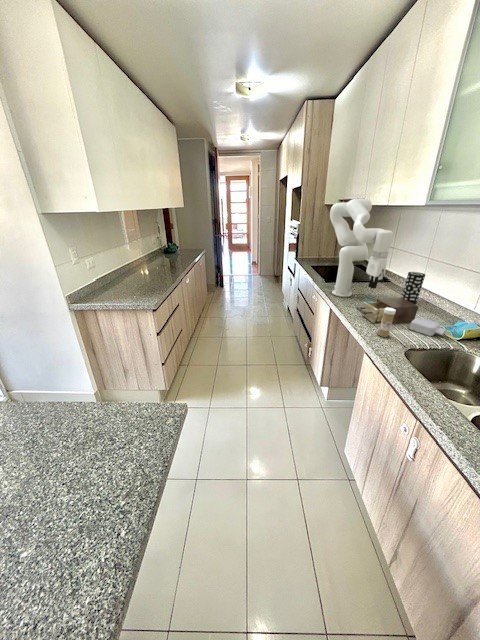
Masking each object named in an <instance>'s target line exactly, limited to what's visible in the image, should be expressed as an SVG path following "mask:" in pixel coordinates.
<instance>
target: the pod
mask: <svg viewBox="0 0 480 640" xmlns="http://www.w3.org/2000/svg"><path fill="white" fill-rule="evenodd" d="M363 302H367V303H368V302H375V301H373V300H372V299H370V298H369V299H363Z"/></svg>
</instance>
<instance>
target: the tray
mask: <svg viewBox="0 0 480 640" xmlns="http://www.w3.org/2000/svg"><path fill="white" fill-rule="evenodd" d="M387 307H388V306H386V305H384V304H383V303H381V302H377V301H374V302H368V303H367V302H364V301H362V305H361V307H359V306H357V307H356V310H357V311H359V312H360V313H359V314H360V315H361V316H363V317H364V318H365V319H367V320H368V321H370V322H371V323H372V324H375V323H376V322H381V321H382V318H383V314H384V309H385V308H387ZM388 308H390V307H388Z"/></svg>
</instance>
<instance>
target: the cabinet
mask: <svg viewBox="0 0 480 640" xmlns="http://www.w3.org/2000/svg"><path fill="white" fill-rule="evenodd" d="M376 302H381V303H383V304H384V305H386V306H388V307H390V308H393V309H395V310H396V312H395V314H394V318H393V322H392V325H393V324H407V323H411V322H412V321H413V320H414V319H416V316H417V313H418V309H419V305H418V304H416V305H415V304H413V303H411V302H409V301H407V300H405V299H403V298H401V297H387V298H377V299H376Z"/></svg>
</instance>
